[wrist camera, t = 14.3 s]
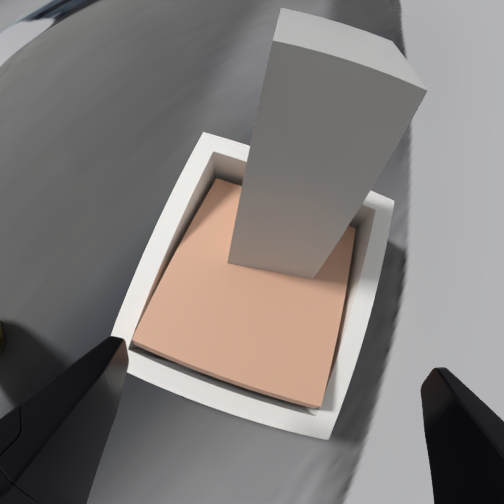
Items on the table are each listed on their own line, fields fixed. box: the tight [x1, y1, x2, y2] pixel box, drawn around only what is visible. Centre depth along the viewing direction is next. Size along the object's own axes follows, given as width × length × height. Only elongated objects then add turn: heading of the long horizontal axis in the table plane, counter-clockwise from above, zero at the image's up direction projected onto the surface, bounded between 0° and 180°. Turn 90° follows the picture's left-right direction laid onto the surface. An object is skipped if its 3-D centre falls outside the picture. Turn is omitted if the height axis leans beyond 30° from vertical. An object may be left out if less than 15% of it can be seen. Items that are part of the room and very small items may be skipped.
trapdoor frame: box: [111, 132, 394, 440], centre depth 20 cm, size 15×13×5 cm
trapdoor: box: [132, 178, 356, 409], centre depth 20 cm, size 12×10×4 cm
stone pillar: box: [227, 8, 427, 279], centre depth 14 cm, size 5×5×12 cm
